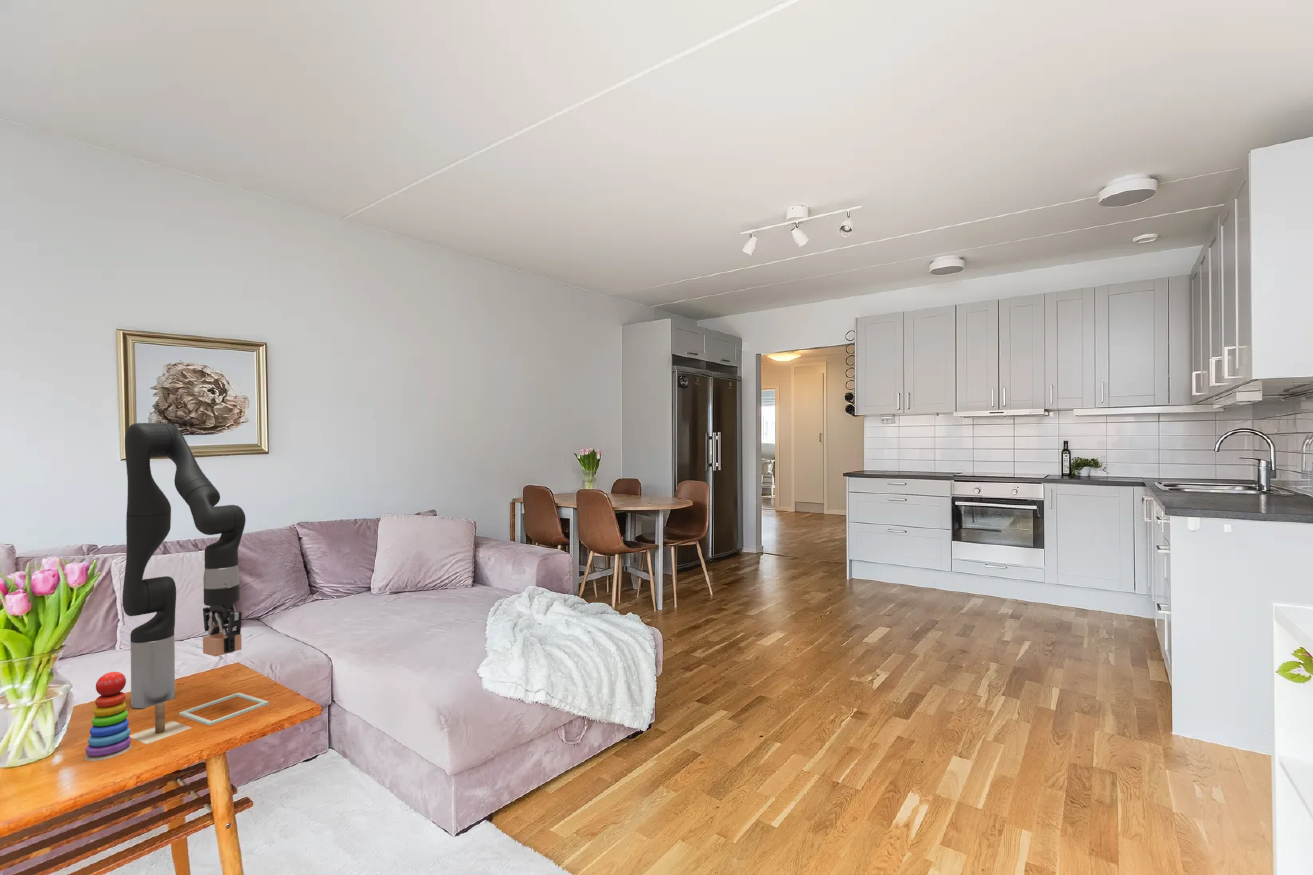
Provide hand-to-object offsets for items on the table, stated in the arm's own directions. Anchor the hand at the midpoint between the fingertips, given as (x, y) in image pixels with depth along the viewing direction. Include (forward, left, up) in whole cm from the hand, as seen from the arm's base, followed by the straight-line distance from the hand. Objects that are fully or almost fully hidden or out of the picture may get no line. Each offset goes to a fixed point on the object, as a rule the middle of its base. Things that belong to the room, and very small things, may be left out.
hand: (222, 650), depth 158 cm
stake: (0, -14, -17) cm, 21 cm away
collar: (0, 0, 0) cm, 0 cm away
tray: (0, 0, -17) cm, 17 cm away
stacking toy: (+1, -24, -17) cm, 29 cm away
